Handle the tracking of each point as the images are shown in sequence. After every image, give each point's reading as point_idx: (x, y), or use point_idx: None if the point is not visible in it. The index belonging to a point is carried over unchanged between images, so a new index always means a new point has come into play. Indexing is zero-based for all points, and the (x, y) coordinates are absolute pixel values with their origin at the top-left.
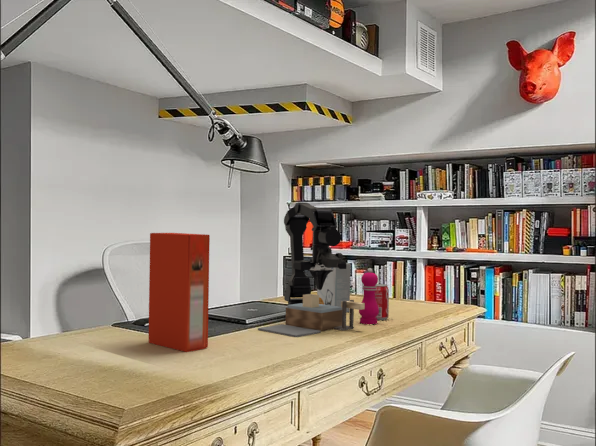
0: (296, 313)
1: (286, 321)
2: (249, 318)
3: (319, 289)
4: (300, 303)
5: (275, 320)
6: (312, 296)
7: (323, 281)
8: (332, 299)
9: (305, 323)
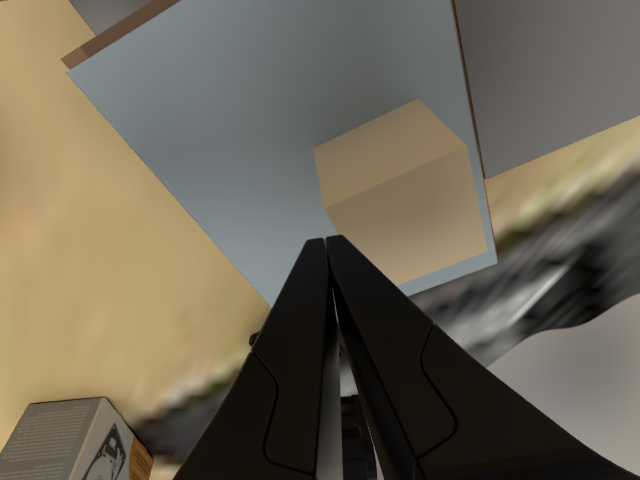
0: None
1: None
2: (483, 341)
3: (343, 235)
4: None
5: (419, 300)
6: (449, 148)
7: (289, 330)
8: (88, 461)
9: None
